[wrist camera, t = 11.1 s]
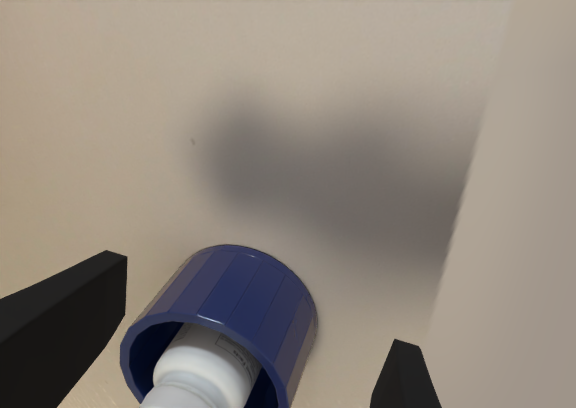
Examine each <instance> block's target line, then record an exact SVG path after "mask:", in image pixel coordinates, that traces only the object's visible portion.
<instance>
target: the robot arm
mask: <svg viewBox="0 0 576 408" xmlns="http://www.w3.org/2000/svg"><path fill="white" fill-rule="evenodd" d="M126 282H127V256H124V255H121V254H117V253H114V252H111V251H108V250H106V251H103V252H101V253H99V254H97V255H95V256H93V257H91V258H89V259H86V260H84V261H82V262H80V263H78V264H76V265H74V266H72V267H70V268H68V269H66V270H64V271H62V272H60V273H58V274H56V275H53V276H51V277H49V278H47V279H45V280H43V281H41V282H39V283H37V284H34V285H32V286H30V287H28V288H25V289H23V290H20V291H18V292H16V293H13V294H11V295H9V296H6V297H4V298H2V299H0V408H57V407H58V405H59V404H60V403H61V402H62V400H63V399H64V398H65V397H66V395H67V394H68V393H69V392H70V391H71V389H72V388H73V387H74V386H75V384H76V383H77V382H78V381H79V379H80V378H81V377H82V376H83V374H84V373H85V372H86V371H87V370H88V368H89V367H90V366H91V365H92V363H93V362H94V361H95V359H96V358H97V357H98V356H99V354H100V353H101V352H102V351H103V349H104V348H105V347H106V345H107V344H108V342H109V340H110V339H111V337H112V336H113V334H114V333H115V331H116V329H117V327H118V326H119V324H120V322H121V321H122V319H123V317H124V316H125V306H126ZM370 408H442V407H441V405H440V402H439V400H438V397H437V394H436V392H435V389H434V387H433V384H432V381H431V378H430V375H429V373H428V370H427V367H426V364H425V361H424V358H423V354H422V351H421V349H420V348H419V346H416V345H413V344H410V343H407V342H403V341H400V340H397V339H394V341H393V344H392V346H391V349H390V351H389V354H388V356H387V358H386V361H385V363H384V366H383V368H382V371H381V373H380V376H379V378H378V380H377V383H376V385H375V388H374V390H373V393H372V397H371V403H370Z"/></svg>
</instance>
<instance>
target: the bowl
mask: <svg viewBox="0 0 576 408" xmlns="http://www.w3.org/2000/svg"><path fill="white" fill-rule="evenodd" d="M185 322H186V323H195V324H199V325H202V326H204V327H207V328H210V329H213V330H215V331H218V332H221V333H223V334H225V335H226V336H228V337H229V338H231V339H232V340H234V341H236V342H237V343H239V344H240V345H242V346H243V347H245V348H246V349H247V350H248V351H249V352H250V353H251V354H252V355H253V356H254V357H255V358H256V359H257V360H258V361H259V362H260V363H261V364H262V368H261V370H260V372H259V375H258V377H257V379H256V381H255V384H254V386H253V388H252V390H251V393H250V395H249V397H248V399H247V402H246V404H245V406H244V408H291V407H292V404H293V401H294V398H295V395H296V392H297V389H298V386H299V383H300V380H301V378H302V375H303V372H304V369H305V366H306V363H307V360H308V357H309V354H310V351H311V348H312V345H313V342H314V339H315V336H316V331H317V315H316V310H315V306H314V303H313V301H312V298H311V296H310V294H309V292H308V291H307V289H306V287H305V286H304V285H303V283H302V282H301V281H300V280H299V278H298V277H297V276H296V275H295V274H294V273H293V272H292V271H291V270H289V269H288V268H287V267H286V266H285V265H283V264H282V263H280V262H279V261H277V260H276V259H274V258H272V257H270V256H268V255H267V254H265V253H262V252H259V251H257V250H254V249H250V248H247V247H241V246H234V245H222V246H214V247H210V248H206V249H204V250H201V251H199V252H197V253H196V254H194V255H192V256H191V257H190V258H189V259H188V260H187V261H186V262H185V263H184V264H183V265H182V266H181V267H179V269H178V270H177V271H176V272H175V273H174V275H173V276H172V277H171V278H170V279H169V280H168V282H167V283H166V284H165V285H164V286H163V288H162V289H161V290H160V291H159V292H158V294H157V295H156V296H155V297H154V298H153V300H152V301H151V302H150V303H149V304H148V306H147V307H146V308H145V309H144V310H143V312H142V313H141V314H140V315H139V316H138V318H137V319H136V320H135V321H134V322H133V323H132V325H131V326H130V327H129V328H128V330H127V332H126V334H125V336H124V338H123V340H122V342H121V344H120V367H121V370H122V372H123V375H124V378H125V381H126V384H127V386H128V387H129V389H130V390H131V392H132V393H133V395H134V396H135V397H136V399H137V400H138V402H139V403H140V404H141V403H142V402H143V400H144V398H145V396H146V395H147V394H148V393H149V392H150V391H151V390H152V388H153V387H154V383H153V374H154V369H155V366H156V364H157V362H158V360H159V359H160V357H161V356H162V354H163V353H164V351H165V350H166V349H167V347H168V346H169V344H170V343H171V341H172V340H173V339H174V337H175V336H176V334H177V333H178V331H179V330H180V329H181V327H182V326H183V324H184V323H185Z"/></svg>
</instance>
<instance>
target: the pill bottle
mask: <svg viewBox="0 0 576 408" xmlns="http://www.w3.org/2000/svg"><path fill="white" fill-rule="evenodd" d="M261 368H262V364H261V363H260V362H259V361H258V360H257V359H256V358H255V357H254V356H253V355H252V354H251V353H250V352H249V351H248V350H247V349H246V348H245V347H243V346H242V345H240V344H239V343H237V342H236V341H234V340H232V339H231V338H229V337H228V336H226V335H225V334H223V333H221V332H218V331H215V330H213V329H210V328H207V327H204V326H202V325H199V324H195V323H186V322H185V323H184V324H183V326H182V327H181V329H180V330H179V331H178V333H177V334H176V336H175V337H174V339H173V340H172V341H171V343H170V344H169V346H168V347H167V349H166V350H165V351H164V353H163V354H162V356H161V357H160V359H159V360H158V362H157V364H156V366H155V369H154V374H153V383H154V387H153V388H152V390H151V391H150V392H149V393H148V394H147V395H146V396H145V398H144V400H143V402H142V403H141V405H140V406H139V408H244V406H245V404H246V402H247V399H248V397H249V395H250V393H251V390H252V388H253V386H254V384H255V381H256V379H257V377H258V375H259V372H260V370H261Z"/></svg>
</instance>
